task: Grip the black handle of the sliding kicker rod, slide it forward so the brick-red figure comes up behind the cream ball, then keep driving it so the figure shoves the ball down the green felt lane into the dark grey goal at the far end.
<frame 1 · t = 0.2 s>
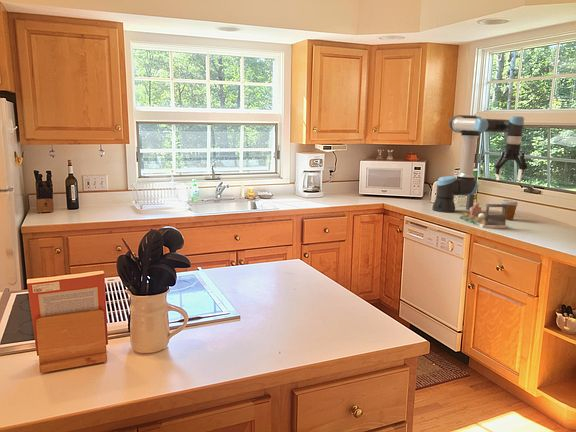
hand: (508, 180, 279), 28 cm above the counter, tool pointing down, fingers open, 13 cm apart
pitch: (482, 222, 292), on the counter
ball: (481, 216, 294), point 3 cm above the counter, touching pitch
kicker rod: (473, 205, 303), point 9 cm above the counter, slide at 0.0 cm
disposable coffee cup: (507, 219, 307), on the counter
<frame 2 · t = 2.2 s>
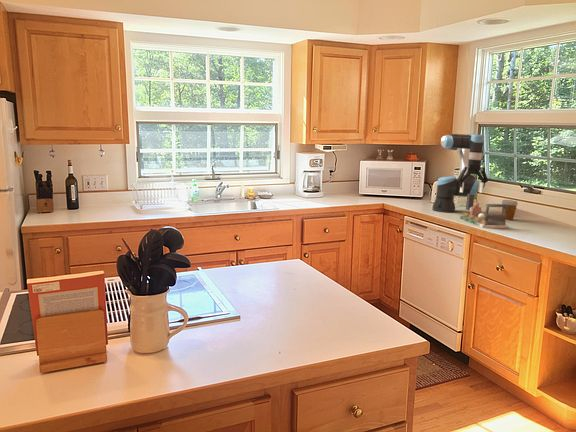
hand: (471, 192, 305), 16 cm above the counter, tool pointing down, fingers open, 13 cm apart
nothing on the counter moved.
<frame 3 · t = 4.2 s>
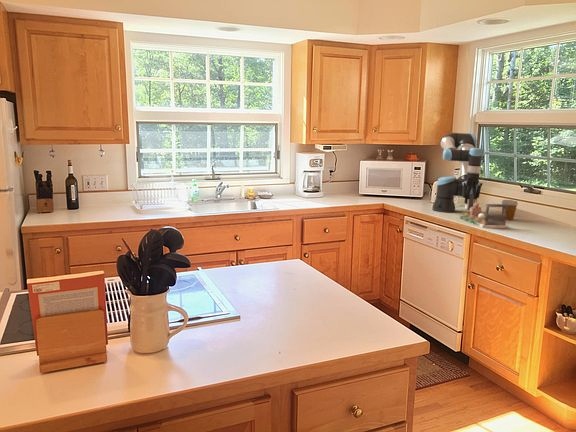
hand: (469, 208, 308), 6 cm above the counter, tool pointing down, fingers closed on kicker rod, 3 cm apart
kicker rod: (473, 205, 303), point 8 cm above the counter, slide at 0.0 cm, touching gripper
everything else where it was.
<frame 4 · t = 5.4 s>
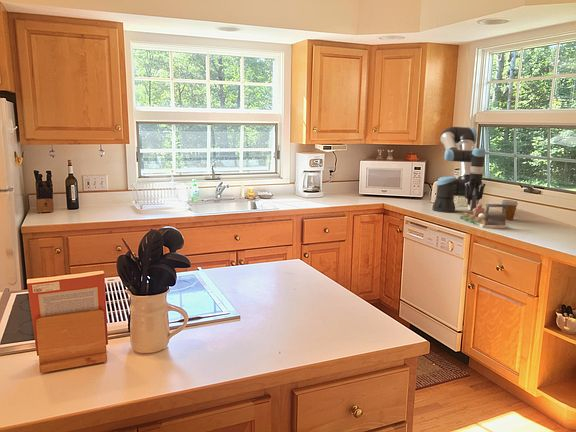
hand: (472, 209, 304), 6 cm above the counter, tool pointing down, fingers closed on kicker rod, 3 cm apart
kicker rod: (475, 206, 300), point 9 cm above the counter, slide at 3.5 cm, touching gripper
everything else where it was.
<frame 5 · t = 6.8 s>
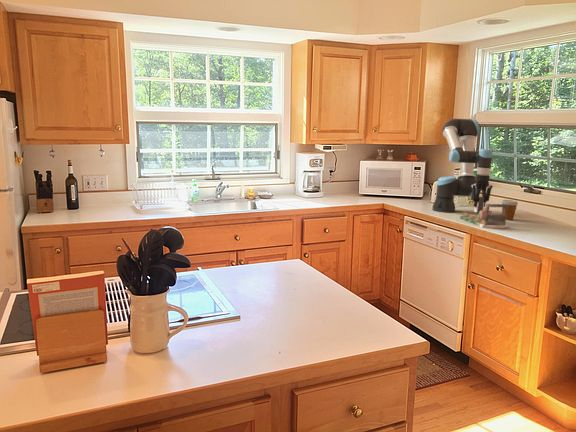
hand: (478, 212, 297), 6 cm above the counter, tool pointing down, fingers closed on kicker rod, 3 cm apart
ball: (488, 219, 286), point 3 cm above the counter, tilted 137°, touching pitch
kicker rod: (482, 208, 292), point 9 cm above the counter, slide at 11.3 cm, touching gripper
everything else where it was.
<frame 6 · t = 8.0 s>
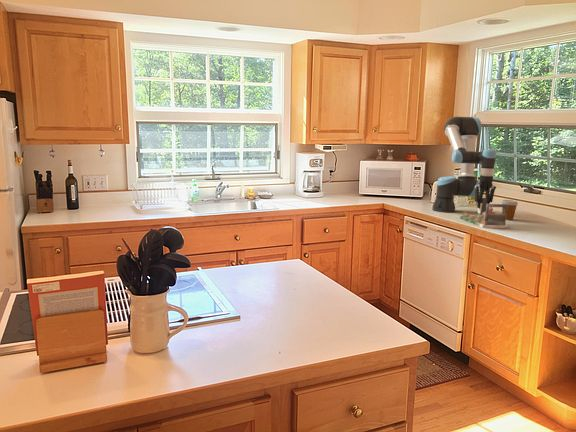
hand: (481, 213, 293), 6 cm above the counter, tool pointing down, fingers closed on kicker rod, 3 cm apart
ball: (492, 220, 283), point 3 cm above the counter, tilted 35°, touching pitch
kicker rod: (486, 209, 289), point 9 cm above the counter, slide at 15.0 cm, touching gripper
everything else where it was.
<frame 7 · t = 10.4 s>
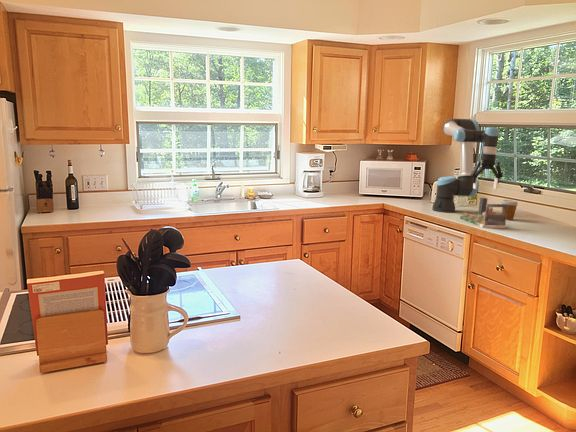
hand: (484, 188, 290), 21 cm above the counter, tool pointing down, fingers open, 13 cm apart
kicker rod: (486, 209, 289), point 9 cm above the counter, slide at 15.0 cm
everything else where it was.
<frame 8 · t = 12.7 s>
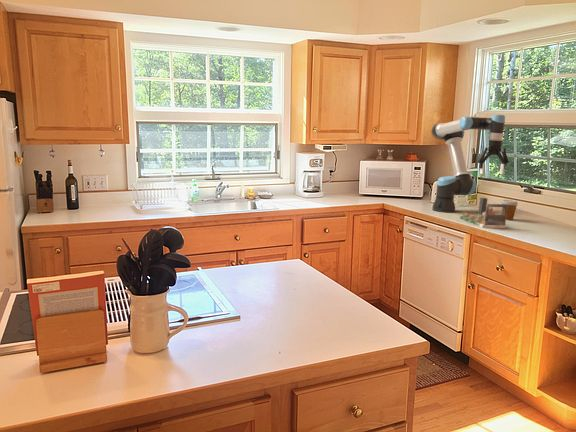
hand: (491, 174, 301), 29 cm above the counter, tool pointing down, fingers open, 13 cm apart
ball: (492, 220, 282), point 3 cm above the counter, tilted 33°, touching pitch
everything else where it was.
at the end: ball inside the target area (0.0 cm from its centre), point 3.5 cm above the counter; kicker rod slide at 15.0 cm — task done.
